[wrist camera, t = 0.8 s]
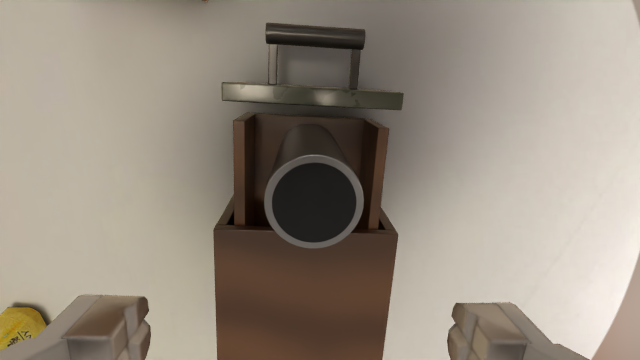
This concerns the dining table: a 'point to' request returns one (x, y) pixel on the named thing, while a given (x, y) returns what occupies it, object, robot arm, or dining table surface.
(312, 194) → the grey metal cylinder
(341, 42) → the drawer
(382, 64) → the dining table surface
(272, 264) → the cabinet
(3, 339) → the chocolate bunny
